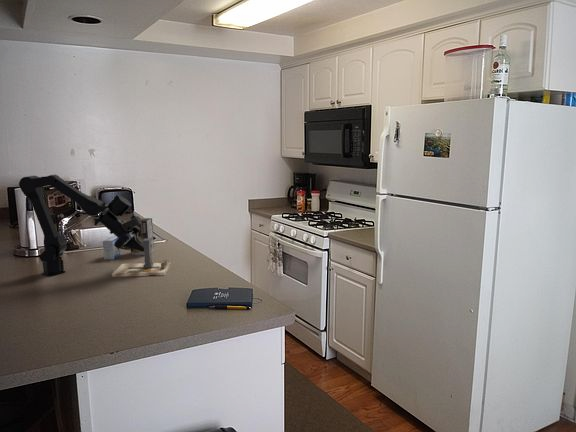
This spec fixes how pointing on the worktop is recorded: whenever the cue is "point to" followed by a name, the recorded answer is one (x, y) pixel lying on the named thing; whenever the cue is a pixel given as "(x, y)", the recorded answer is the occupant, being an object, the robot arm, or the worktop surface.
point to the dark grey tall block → (147, 253)
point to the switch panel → (141, 269)
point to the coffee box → (144, 235)
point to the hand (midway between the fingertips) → (144, 250)
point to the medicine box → (110, 248)
